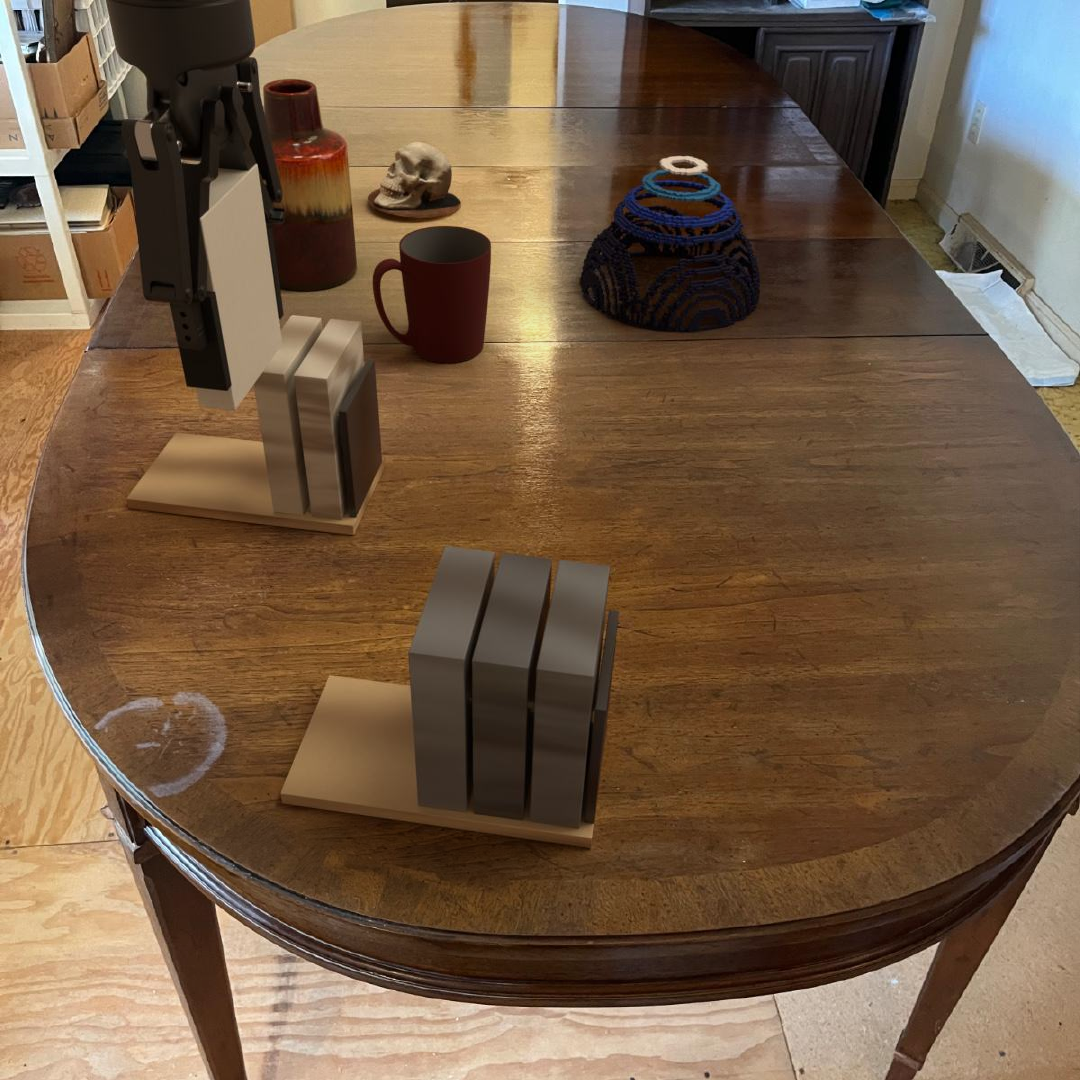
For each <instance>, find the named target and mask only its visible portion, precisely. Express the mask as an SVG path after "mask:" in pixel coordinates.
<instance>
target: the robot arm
mask: <svg viewBox="0 0 1080 1080" xmlns="http://www.w3.org/2000/svg"><path fill="white" fill-rule="evenodd" d="M105 4H106V8H107V13H108V18H109V22H110V27H111V33H112V37H113V42H114V46H115V47H114V48H115V51H116V53H117V55H118V56H119V58H120V59H121V60H122V61H124V62H125V63H126V64H128V65H130V66H134V67H135V68H136V69H138V70H139V71H140V72H141V73H142V74H143V75H144V77H145V85H146V111H147V114H146V115H145V116H144V117H143V118H141V119H132V118H125V119H123V120H122V122H121V126H120V132H121V138H122V141H123V144H124V149H125V152H126V155H127V159H128V162H129V165H130V167H129V168H130V175H131V186H132V187H131V188H132V195H133V196H132V197H133V206H134V214H135V215H134V216H135V225H136V227H135V228H136V235H137V246H138V256H139V266H140V274H141V284H142V293H143V298H144V299H145V300H146V302H147V301H148V302H155V303H156V302H157V303H166V304H169V308H170V313H171V319H172V323H173V327H174V331H175V332H174V333H175V337H176V341H177V346H178V352H179V356H180V361H181V365H182V371H183V375H184V380H185V385H186V387H188V388H195V389H196V388H204V389H213V390H221V391H228V390H229V388H230V387H231V386H232V383H231V378H230V372H229V366H228V361H227V355H226V350H225V344H224V338H223V333H222V327H221V321H220V316H219V310H218V304H217V299H216V293H215V292H210V291H207V264H208V263H207V257H206V252H205V246H204V241H203V235H202V229H201V224H200V218H201V217H202V216H203V215H204V214H205V213H206V212H207V211H208V210H209V194H210V183H211V182H212V181H214V180H215V179H216V178H217V177H218V169H219V168H223V169H234V170H245V171H249V170H250V169H251V168H252V167H253V166H254V165H255V164H257V165H258V172H259V179H260V186H261V193H262V201H263V208H264V215H265V222H266V229H267V237H268V244H269V251H270V258H271V266H272V273H273V280H274V287H275V295H276V302H277V309H278V316H279V321H281V319H282V318H283V317H284V316H285V314H284V305H283V297H282V290H281V288H280V283H279V276H278V268H277V261H276V254H275V246H274V239H273V231H272V227H269V223H273V224H283V223H284V221H285V209H284V208H278V207H273V203H278V204H279V203H280V202H281V200H282V197H283V194H282V188H281V184H280V179H279V175H278V170H277V166H276V162H275V157H274V153H273V148H272V144H271V140H270V135H269V131H268V127H267V122H266V118H265V113H264V104H263V100H262V96H261V88H260V75H259V66H258V61H257V58H256V57H254V56H253V57H252V54H254V51H255V48H256V38H255V37H256V36H255V29H254V23H253V22H254V21H253V16H252V15H253V14H252V6H251V0H105ZM182 161H191V162H192V161H193V162H199V163H188V162H182ZM263 180H266V184H264V182H263Z"/></svg>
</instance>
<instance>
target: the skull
mask: <svg viewBox="0 0 1080 1080" xmlns="http://www.w3.org/2000/svg"><path fill="white" fill-rule="evenodd" d="M394 160H395V161H393V162H392V163H391V164H390V166H389V167H388V168H387V172H386V176H385V177H384V178H383V179H382V180H381V181H380V183H379V187H380V188H377V189H374V190H373V191H371V192H370V193H369V194H368V196H367V202H368V203H369V204H370V205H371V207H373V209H376V210H377V211H379V212H383V213H385V214H388V215H393V216H397V217H402V218H404V217H405V218H411V219H413V220H417V218H418V219H421V220H423V219H426V220H429V219H431V218H433V219H434V218H437V217H443V216H444V217H445V216H448V215H452V214H453V213H454V212H456V211H458V210H459V209H460V208H461V206H462V202H461V200H460V198H458V197H457V196H456V195H455V194H454V193H451V192H450V188H451V184H452V178H453V170H452V165H451V163H450V161H449V159H448V158H447V156H446V155H445V154H444V153H442V152H441V151H440V150H439V149H437V148H436V147H434V146H432V145H430V144H428V143H425V142H422V141H413V142H410V143H407V144H405V145H404V146H402V147H400V148H399V149H398V150H396V151H395V153H394Z"/></svg>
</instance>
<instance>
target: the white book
mask: <svg viewBox="0 0 1080 1080" xmlns="http://www.w3.org/2000/svg"><path fill="white" fill-rule="evenodd" d="M200 224H201V229H202V235H203V241H204V246H205V252H206V257H207V263H208V264H207V291H210V292H215V293H216V299H217V304H218V310H219V316H220V321H221V327H222V333H223V338H224V344H225V350H226V355H227V361H228V366H229V372H230V378H231V383H232V386H231V387H230V388H229V390H228V391H221V390H213V389H204V388H195V391H196V392H195V393H196V396H197V402H198V406H199V407H200V408H201V407H202V408H209V409H210V408H211V409H218V410H226V411H236V410H237V409H238V407H239V406H240V405H241V403H242V402H243V401H244V399H245V398H246V396H247V395H248V394H249V392H250V391H251V389H252V388H253V387H254V383H255V382H256V381H257V379H258V378H259V376H260V375H261V374H262V372H263V371H264V369H265V368H266V367H267V365H268V364H269V362H270V361H271V359H272V358H273V357H274V355H275V354H276V352H277V351H278V350H279V348H280V347H281V345H282V338H281V331H280V330H281V324H280V320H279V316H278V309H277V302H276V295H275V287H274V280H273V273H272V266H271V258H270V251H269V244H268V237H267V229H266V222H265V215H264V208H263V201H262V193H261V186H260V179H259V172H258V165H257V164H255V165H254V166H253V167H252V168H251V169H250V170H249V171H245V170H234V169H223V168H219V169H218V177H217V178H216V179H215V180H214V181H212V182H211V183H210V194H209V210H208V211H207V212H206V213H205V214H204V215H203V216H202V217H201V218H200Z"/></svg>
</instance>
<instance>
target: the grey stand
mask: <svg viewBox="0 0 1080 1080" xmlns="http://www.w3.org/2000/svg"><path fill="white" fill-rule="evenodd" d="M497 565H498V566H497V569H496V568H495V567H496V553H495V551H491V550H483V549H475V548H474V549H473V548H467V547H466V548H465V547H457V546H450V545H445V546H444V548H443V551H442V553H441V555H440V559H439V562H438V565H437V568H436V571H435V574H434V577H433V580H432V583H431V586H430V588H429V591H428V594H427V597H426V600H425V603H424V605H423V608H422V611H421V614H420V617H419V621H418V622H417V626H416V629H415V632H414V633H413V634H414V635H413V637H412V641H411V643H410V646H409V649H408V652H407V654H408V655H407V656H408V672H409V685H407V684H399V683H392V682H384V681H378V680H370V679H363V678H355V677H347V676H339V675H332V674H329V676H328V678H327V680H326V683H325V685H324V687H323V689H322V691H321V694H320V696H319V699H318V702H317V703H316V707H315V708H314V710H313V711H314V712H313V713H312V715H311V719H310V720H309V723H308V725H307V728H306V731H305V732H304V735H303V738H302V740H301V742H300V745H299V747H298V750H297V752H296V754H295V756H294V759H293V762H292V764H291V767H290V769H289V771H288V773H287V776H286V778H285V780H284V783H283V785H282V788H281V789H280V790H281V791H280V793H279V794H280V800H281V804H283V805H284V804H285V805H291V806H298V807H305V808H311V809H312V808H313V809H319V810H326V811H332V812H339V813H345V814H353V815H358V816H359V815H360V816H368V817H372V818H373V817H374V818H381V819H389V820H395V821H400V822H401V821H402V822H409V823H416V824H422V825H429V826H434V827H435V826H437V827H442V828H449V829H455V830H456V829H457V830H463V831H471V832H477V833H485V834H491V835H497V836H506V837H512V838H519V839H525V840H532V841H539V842H545V843H546V842H547V843H553V844H560V845H566V846H573V847H580V848H587V849H591V848H592V843H593V836H594V828H595V821H596V820H595V819H596V814H597V813H596V812H597V806H598V805H597V804H598V797H599V791H600V790H599V789H600V782H601V775H602V774H601V773H602V766H603V758H604V751H605V745H606V736H607V728H608V720H609V707H610V699H611V692H612V691H611V689H612V680H613V671H614V663H615V653H616V644H617V634H618V626H619V618H620V617H619V616H620V611H619V610H612V609H609V610H608V616H607V621H606V614H607V602H608V592H609V583H610V572H611V566H610V565H605V564H598V563H589V562H580V561H572V560H566V559H565V560H564V559H559V560H558V564H557V568H556V572H555V577H554V583H553V587H552V571H553V570H552V569H553V559H552V558H549V557H541V556H532V555H523V554H515V553H508V552H502V553H501V554H500V558H499V562H498V564H497ZM495 569H496V570H495ZM495 571H496V572H495ZM606 622H607V623H606ZM605 625H606V628H605ZM604 632H605V633H604ZM604 634H605V637H604Z"/></svg>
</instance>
